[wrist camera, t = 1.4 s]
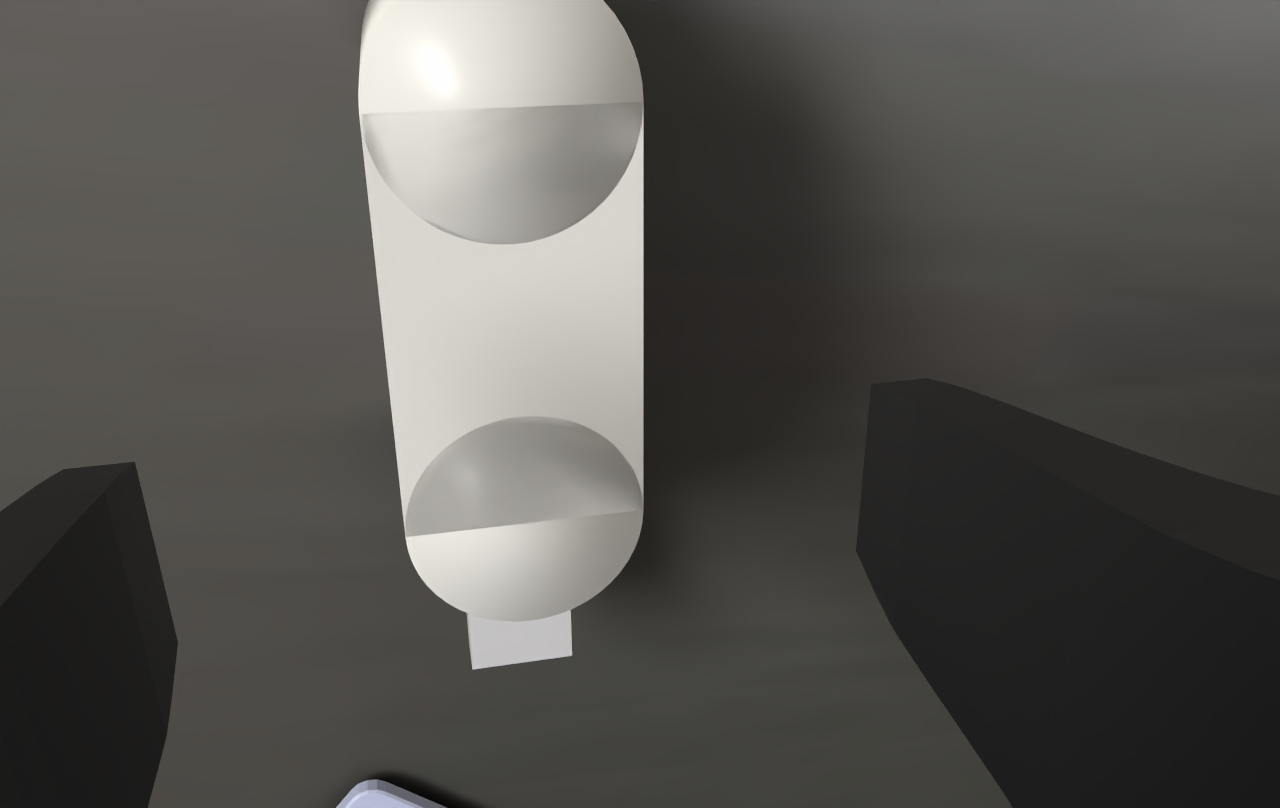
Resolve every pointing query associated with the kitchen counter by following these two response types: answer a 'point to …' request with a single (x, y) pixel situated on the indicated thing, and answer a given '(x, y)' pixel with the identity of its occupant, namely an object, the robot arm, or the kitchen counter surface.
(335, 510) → the kitchen counter surface
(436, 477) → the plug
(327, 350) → the kitchen counter surface
